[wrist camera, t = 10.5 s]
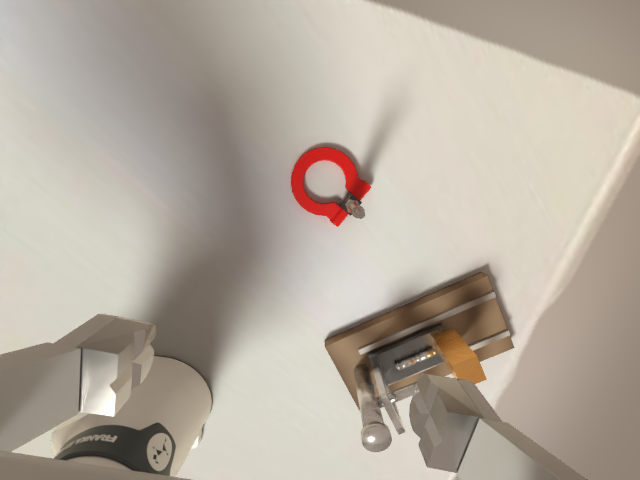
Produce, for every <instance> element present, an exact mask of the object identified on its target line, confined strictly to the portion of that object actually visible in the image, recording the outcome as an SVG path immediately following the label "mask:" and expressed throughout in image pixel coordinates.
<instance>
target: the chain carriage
mask: <svg viewBox="0 0 640 480" xmlns="http://www.w3.org/2000/svg"><path fill="white" fill-rule="evenodd" d="M368 357H369V360H370V362H371V364H372V366H373V368H374V369H373V373H374V376H375V380H376V384H377V387H378V391H379V394H380V398H381V401H382V403H383V405H384V407H385V409H386V411H387V413H388V415H389V417H390V419H391V420H392V422H393V424H394V426H395V428H396V430H397V432H398V434H402V433H404V432H405V430H404V427H403V424H402V421H401V418H400V415H399V412H398V409H397V406H396V403H393V404H392V403H391V401H390V399H389V397H388V394H387V393H390V392H391V391H390V389H389V387H388V385H389V384H391V383H394V382H396V381H398V380H401V379H403V378H406V377H408V376H411V375H413V374H415V373H418V372H420V371H423V370H425V369H427V368H430V367H432V366H435V365H437V364H440V363H442V362H445V364H446V365H447V367H448V368H449V370H450V371H451V373H452V374H453V376H454V377H455V378H457V379H464V380H470V381H471V382H473V383H474V384H476V383H479V382H481V381H484V380H486V377H485V374H484V372H483V369H482V367H481V365H480V362H479V360H478V357H477V355H476V354H475V353H474V352H473V351H472V349H471V348H470V347H469V346H468V345H467V344H466V342H465V341H464V340H463V339H462V338H461V337H460V335H459V334H458V333H457V332H456V331H455V330H454V328H453V329H450V330H448V331H446V329H445V327H444V326H443V324H442V323H440V324H438V325H435V326H433V327H430V328H428V329H426V330H423V331H421V332H419V333H416V334H414V335H412V336H409V337H407V338H405V339H402V340H400V341H398V342H395V343H393V344H391V345H388V346H386V347H384V348H381V349H379V350H377V351H374V352H372V353H370V354H368Z"/></svg>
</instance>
